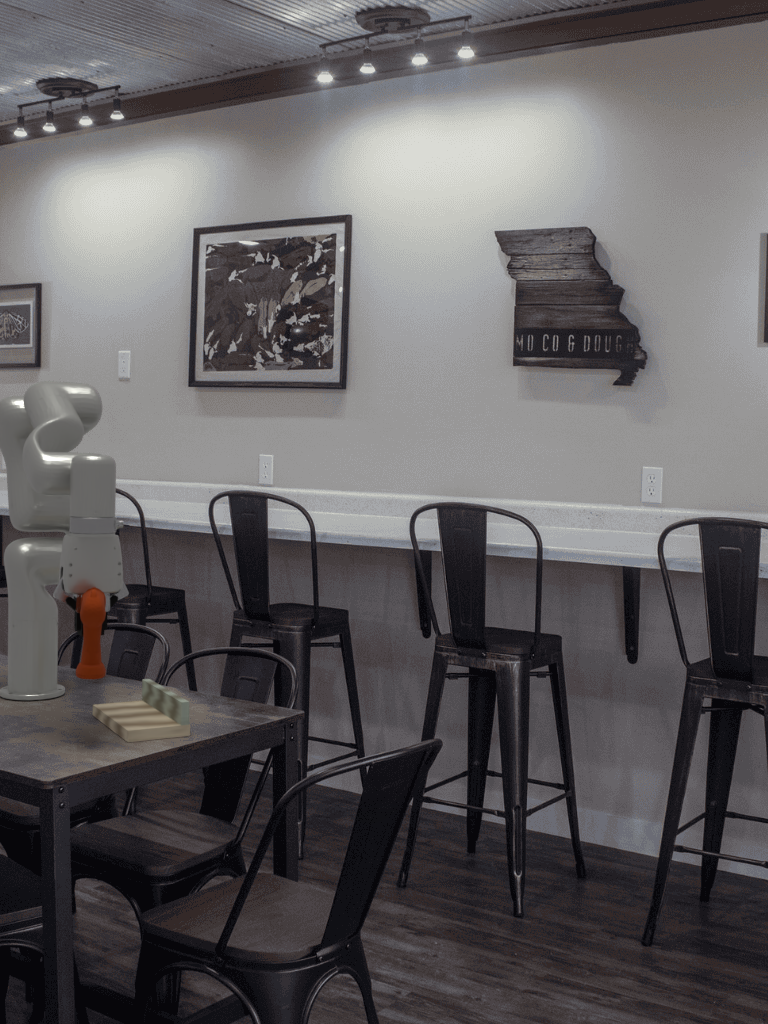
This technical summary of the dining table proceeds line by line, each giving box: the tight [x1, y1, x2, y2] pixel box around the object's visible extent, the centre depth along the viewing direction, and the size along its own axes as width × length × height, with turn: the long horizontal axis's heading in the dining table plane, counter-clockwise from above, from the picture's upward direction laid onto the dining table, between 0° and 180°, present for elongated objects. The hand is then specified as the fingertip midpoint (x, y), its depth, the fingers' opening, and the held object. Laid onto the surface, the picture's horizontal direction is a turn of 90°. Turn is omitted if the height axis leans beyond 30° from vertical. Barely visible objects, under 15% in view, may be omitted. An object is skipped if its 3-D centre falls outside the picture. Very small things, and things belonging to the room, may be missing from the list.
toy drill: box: [75, 587, 107, 680], centre depth 187 cm, size 5×19×15 cm, turn 15°
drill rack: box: [92, 678, 191, 743], centre depth 197 cm, size 22×11×6 cm, turn 30°
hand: (90, 633), depth 187 cm, fingers closed on toy drill, 2 cm apart
